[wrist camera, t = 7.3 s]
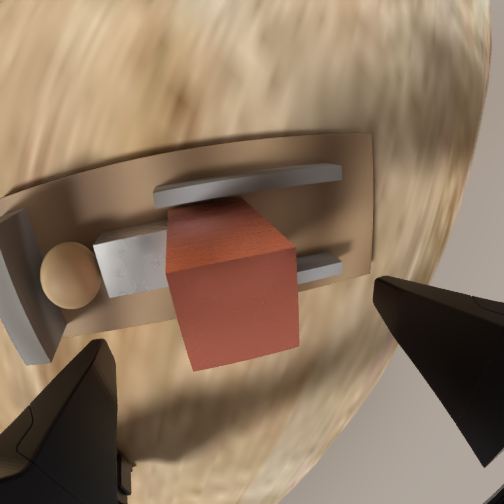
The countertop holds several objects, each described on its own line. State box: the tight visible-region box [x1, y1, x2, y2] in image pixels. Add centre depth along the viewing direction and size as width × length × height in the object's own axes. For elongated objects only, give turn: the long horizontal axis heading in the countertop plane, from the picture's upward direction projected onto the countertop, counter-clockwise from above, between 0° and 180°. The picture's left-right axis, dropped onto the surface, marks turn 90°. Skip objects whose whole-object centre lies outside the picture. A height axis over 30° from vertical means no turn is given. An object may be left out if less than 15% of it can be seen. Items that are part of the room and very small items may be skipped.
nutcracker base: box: [0, 133, 373, 365], centre depth 16 cm, size 24×10×5 cm, turn 96°
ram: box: [93, 197, 299, 371], centre depth 13 cm, size 8×4×8 cm, turn 96°
